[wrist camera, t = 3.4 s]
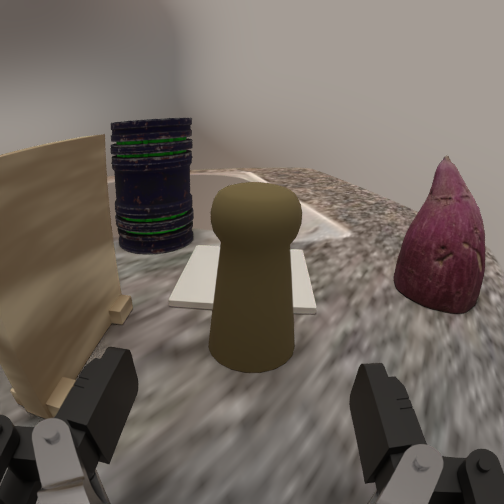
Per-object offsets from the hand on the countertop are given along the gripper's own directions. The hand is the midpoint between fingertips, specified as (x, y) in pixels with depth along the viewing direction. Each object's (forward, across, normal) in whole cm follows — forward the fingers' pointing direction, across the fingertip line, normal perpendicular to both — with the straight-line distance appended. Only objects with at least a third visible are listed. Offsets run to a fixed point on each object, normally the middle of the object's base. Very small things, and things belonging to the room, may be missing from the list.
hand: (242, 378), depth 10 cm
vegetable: (+19, -19, +7) cm, 28 cm away
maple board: (+7, +12, +6) cm, 15 cm away
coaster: (+20, +1, +6) cm, 21 cm away
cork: (+10, 0, +7) cm, 12 cm away
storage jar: (+29, +13, +7) cm, 32 cm away
